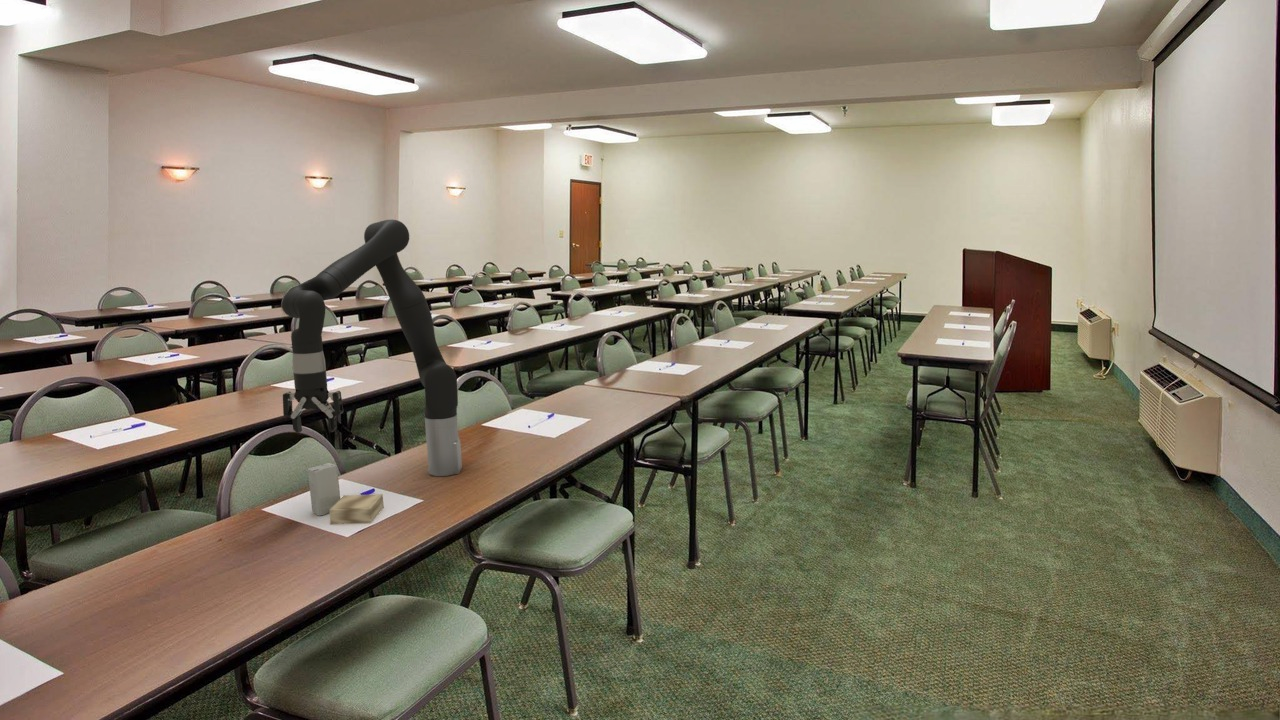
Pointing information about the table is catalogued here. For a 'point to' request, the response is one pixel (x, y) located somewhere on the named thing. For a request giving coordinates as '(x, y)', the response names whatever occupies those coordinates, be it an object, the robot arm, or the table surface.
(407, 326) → the robot arm
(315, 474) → the skincare box
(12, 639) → the table surface
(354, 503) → the block
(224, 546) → the table surface
